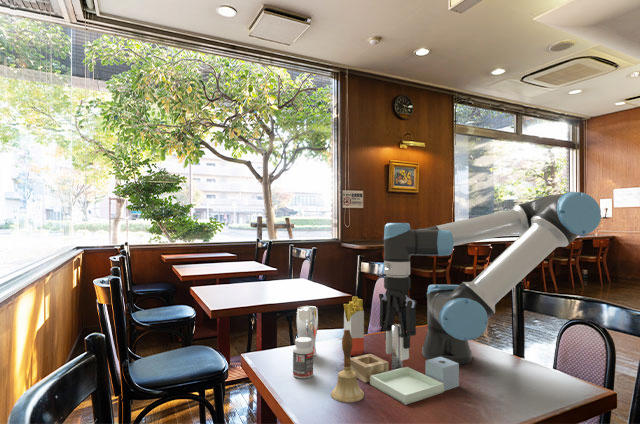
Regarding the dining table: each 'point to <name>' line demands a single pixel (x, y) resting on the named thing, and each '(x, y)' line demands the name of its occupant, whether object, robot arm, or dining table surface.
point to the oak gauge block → (368, 366)
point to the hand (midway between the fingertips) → (397, 355)
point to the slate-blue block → (443, 371)
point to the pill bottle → (303, 358)
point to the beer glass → (307, 323)
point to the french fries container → (355, 324)
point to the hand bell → (347, 376)
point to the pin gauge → (396, 347)
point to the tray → (406, 385)
